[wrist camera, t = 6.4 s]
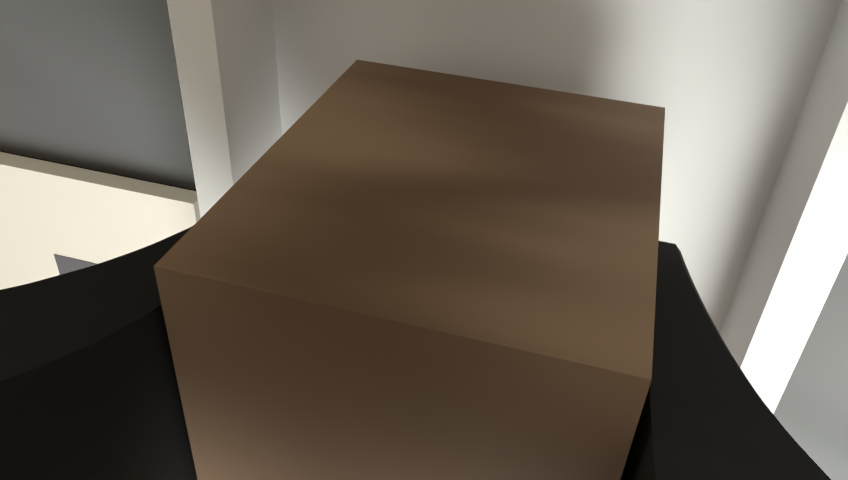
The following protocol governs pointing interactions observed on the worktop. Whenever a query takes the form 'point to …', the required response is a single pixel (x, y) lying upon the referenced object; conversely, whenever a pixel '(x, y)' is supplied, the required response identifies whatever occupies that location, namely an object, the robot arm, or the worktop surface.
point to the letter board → (79, 217)
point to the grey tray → (600, 77)
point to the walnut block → (425, 287)
